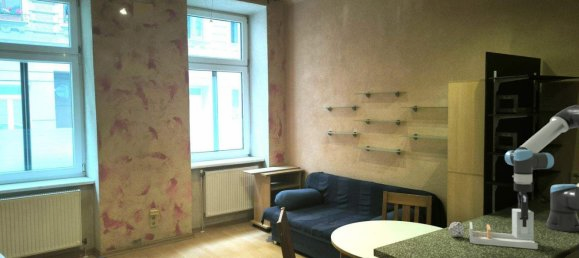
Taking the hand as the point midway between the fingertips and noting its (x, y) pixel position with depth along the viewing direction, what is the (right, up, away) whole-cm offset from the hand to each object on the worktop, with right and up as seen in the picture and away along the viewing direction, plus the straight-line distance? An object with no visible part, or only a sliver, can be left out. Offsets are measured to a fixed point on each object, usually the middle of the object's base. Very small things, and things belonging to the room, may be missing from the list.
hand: (522, 231), depth 197 cm
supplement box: (0, -3, 0) cm, 3 cm away
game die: (-26, -6, +13) cm, 30 cm away
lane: (-8, -6, +4) cm, 11 cm away
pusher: (-13, -5, +6) cm, 15 cm away
